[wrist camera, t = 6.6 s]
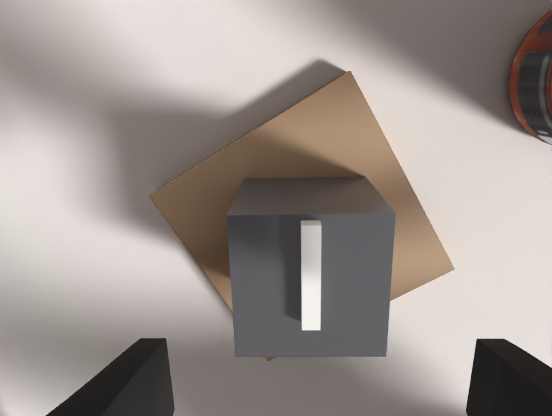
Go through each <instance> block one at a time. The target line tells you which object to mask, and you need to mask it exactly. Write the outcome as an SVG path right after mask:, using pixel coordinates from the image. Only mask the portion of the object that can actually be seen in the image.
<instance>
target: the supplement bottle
mask: <svg viewBox="0 0 552 416" xmlns="http://www.w3.org/2000/svg"><path fill="white" fill-rule="evenodd" d="M509 94H510V101H511V106H512V109H513V111H514V113H515V115H516V117H517V119H518V121H519V123H520V124H521V125H522V126H523V127H524V129H525V130H526V131H528V132H529V133H530V134H532V135H533V136H534V137H536V138H537V139H539V140H541V141H543V142H545V143H548V144H551V145H552V10H551V11H550V12H549V13H547V14H546V15H545V16H544V17H543V18H541V19H540V20H539V21H538V22H537V23H536V24H535V26H534V27H533V28H532V29H531V30H530V31H529V33H528V34H527V36H526V37H525V39H524V40H523V42H522V44H521V45H520V47H519V49H518V51H517V53H516V55H515V58H514V60H513V63H512V66H511V72H510V78H509Z"/></svg>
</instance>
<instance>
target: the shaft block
mask: <svg viewBox="0 0 552 416" xmlns="http://www.w3.org/2000/svg"><path fill="white" fill-rule="evenodd" d="M315 177H366V178H367V179H368V180H369V181H370V183H371V184H372V185H373V186H374V187H375V189H376V190H377V191H378V192H379V193H380V195H381V196H382V197H383V198H384V199H385V201H386V202H387V203H388V204H389V205H390V207H391V208H392V209H393V210H394V211H395V213H396V219H395V234H394V248H393V263H392V277H391V292H390V301H391V300H393V299H395V298H397V297H399V296H401V295H403V294H405V293H407V292H409V291H412V290H414V289H416V288H418V287H420V286H422V285H424V284H426V283H428V282H430V281H432V280H434V279H436V278H438V277H440V276H442V275H444V274H446V273H448V272H450V271H452V270H454V267H453V265H452V263H451V261H450V259H449V257H448V255H447V254H446V252H445V250H444V248H443V246H442V244H441V242H440V240H439V238H438V236H437V234H436V233H435V231H434V229H433V227H432V225H431V223H430V221H429V219H428V217H427V215H426V214H425V212H424V210H423V208H422V206H421V204H420V202H419V200H418V198H417V196H416V195H415V193H414V191H413V189H412V187H411V185H410V183H409V181H408V179H407V177H406V176H405V174H404V172H403V170H402V168H401V166H400V164H399V162H398V160H397V158H396V157H395V155H394V153H393V151H392V149H391V147H390V145H389V143H388V141H387V139H386V138H385V136H384V134H383V132H382V130H381V128H380V126H379V124H378V122H377V120H376V119H375V117H374V115H373V113H372V111H371V109H370V107H369V105H368V103H367V101H366V99H365V98H364V96H363V94H362V92H361V90H360V88H359V86H358V84H357V82H356V80H355V79H354V77H353V75H352V73H351V71H348V72H346V73H344V74H342V75H341V76H339V77H338V78H336V79H334V80H333V81H331V82H330V83H328V84H326V85H325V86H323V87H322V88H320V89H318V90H317V91H315V92H314V93H312V94H310V95H309V96H307V97H305V98H304V99H302V100H301V101H299V102H297V103H296V104H294V105H293V106H291V107H289V108H288V109H286V110H285V111H283V112H281V113H280V114H278V115H277V116H275V117H273V118H272V119H270V120H269V121H267V122H265V123H264V124H262V125H260V126H259V127H257V128H256V129H254V130H252V131H251V132H249V133H248V134H246V135H244V136H243V137H241V138H240V139H238V140H236V141H235V142H233V143H232V144H230V145H228V146H227V147H225V148H224V149H222V150H220V151H219V152H217V153H215V154H214V155H212V156H211V157H209V158H207V159H206V160H204V161H203V162H201V163H199V164H198V165H196V166H195V167H193V168H191V169H190V170H188V171H187V172H185V173H183V174H182V175H180V176H179V177H177V178H175V179H174V180H172V181H170V182H169V183H167V184H166V185H164V186H162V187H161V188H159V189H158V190H156V191H155V192H154V193H152V194H151V195H150V196H149V197H150V198H151V199H152V201H153V202H154V204H155V205H156V206H157V208H158V209H159V211H160V212H161V213H162V215H163V216H164V217H165V219H166V220H167V222H168V223H169V224H170V226H171V227H172V229H173V230H174V231H175V233H176V234H177V235H178V237H179V238H180V240H181V241H182V242H183V244H184V245H185V247H186V248H187V249H188V251H189V252H190V253H191V255H192V256H193V258H194V259H195V260H196V262H197V263H198V265H199V266H200V267H201V269H202V270H203V271H204V273H205V274H206V276H207V277H208V278H209V280H210V281H211V283H212V284H213V285H214V287H215V288H216V289H217V291H218V292H219V294H220V295H221V296H222V298H223V299H224V301H225V302H226V303H227V305H228V306H229V307H230V309H231V310H232V312H233V307H232V292H231V277H230V261H229V246H228V231H227V216H226V215H227V213H228V211H229V209H230V207H231V205H232V203H233V201H234V199H235V197H236V195H237V192H238V190H239V188H240V186H241V184H242V182H243V180H244V179H257V178H315ZM273 358H275V357H266V359H267V360H268V361H269V360H271V359H273Z"/></svg>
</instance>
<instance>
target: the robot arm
mask: <svg viewBox="0 0 552 416" xmlns="http://www.w3.org/2000/svg"><path fill="white" fill-rule="evenodd" d="M174 409H175V408H174V400H173V392H172V384H171V376H170V367H169V359H168V351H167V343H166V338H141V339H139V340H138V341H137V342H135V343H134V344H133V345H132V346H130V347H129V348H128V349H127V350H126V351H124V352H123V353H122V354H121V355H120V356H118V357H117V358H116V359H115V360H114V361H113V362H111V363H110V364H109V365H108V366H107V367H105V368H104V369H103V370H102V371H101V372H100V373H98V374H97V375H96V376H95V377H93V378H92V379H91V380H90V381H89V382H87V383H86V384H85V385H84V386H83V387H81V388H80V389H79V390H78V391H76V392H75V393H74V394H73V395H72V396H70V397H69V398H68V399H67V400H65V401H64V402H63V403H61V404H60V405H59V406H58V407H56V408H55V409H54V410H52V411H51V412H50V413H48V414H47V415H46V416H173V413H174ZM466 412H467V415H468V416H552V368H551V367H549V366H548V365H546V364H545V363H543V362H542V361H540V360H538V359H537V358H535V357H534V356H532V355H531V354H529V353H527V352H526V351H524V350H522V349H521V348H519V347H518V346H516V345H514V344H512V343H511V342H509V341H507V340H505V339H477V341H476V348H475V354H474V361H473V368H472V374H471V381H470V387H469V394H468V401H467V407H466Z"/></svg>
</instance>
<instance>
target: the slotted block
mask: <svg viewBox="0 0 552 416" xmlns="http://www.w3.org/2000/svg"><path fill="white" fill-rule="evenodd" d="M226 216H227V231H228V246H229V261H230V277H231V292H232V307H233V322H234V337H235V353H236V357H386V349H387V335H388V320H389V306H390V292H391V277H392V263H393V248H394V234H395V219H396V213H395V211H394V210H393V209H392V208H391V207H390V205H389V204H388V203H387V202H386V201H385V199H384V198H383V197H382V196H381V195H380V193H379V192H378V191H377V190H376V189H375V187H374V186H373V185H372V184H371V183H370V181H369V180H368V179H367V178H366V177H315V178H257V179H244V180H243V182H242V184H241V186H240V188H239V190H238V192H237V195H236V197H235V199H234V201H233V203H232V205H231V207H230V209H229V211H228V213H227V215H226Z"/></svg>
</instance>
